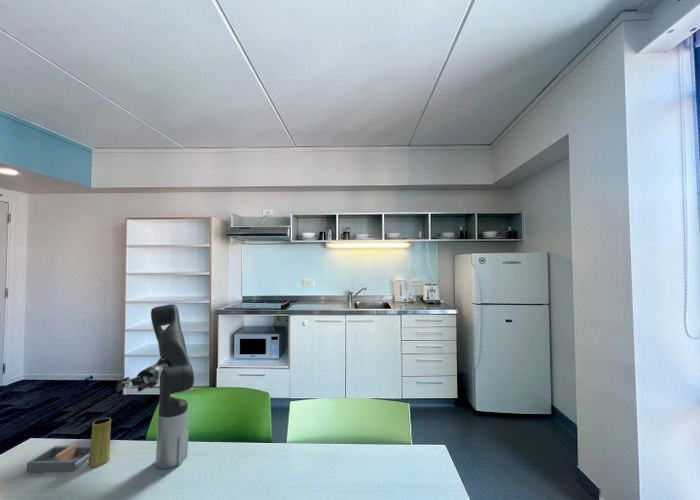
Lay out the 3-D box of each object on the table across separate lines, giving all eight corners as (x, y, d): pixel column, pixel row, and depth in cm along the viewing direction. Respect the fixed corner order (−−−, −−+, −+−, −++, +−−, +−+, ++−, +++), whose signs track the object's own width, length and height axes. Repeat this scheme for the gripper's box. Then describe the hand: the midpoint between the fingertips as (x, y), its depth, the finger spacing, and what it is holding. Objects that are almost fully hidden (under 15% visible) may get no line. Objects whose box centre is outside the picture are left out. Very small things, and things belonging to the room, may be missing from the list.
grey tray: (95, 454, 113) (96, 445, 113) (72, 471, 103) (73, 462, 103) (53, 454, 112) (54, 446, 113) (26, 472, 102) (27, 463, 103)
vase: (114, 457, 111) (117, 417, 112) (98, 468, 105) (102, 425, 106) (99, 456, 112) (102, 416, 113) (82, 467, 106) (86, 424, 107)
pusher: (75, 455, 112) (76, 443, 112) (57, 467, 104) (58, 455, 105) (72, 455, 111) (73, 443, 112) (54, 467, 104) (55, 455, 105)
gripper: (135, 366, 139) (110, 380, 123) (167, 366, 140) (146, 379, 124) (134, 383, 139) (108, 398, 123) (166, 383, 140) (145, 398, 124)
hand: (127, 389), depth 124 cm, fingers open, 8 cm apart
